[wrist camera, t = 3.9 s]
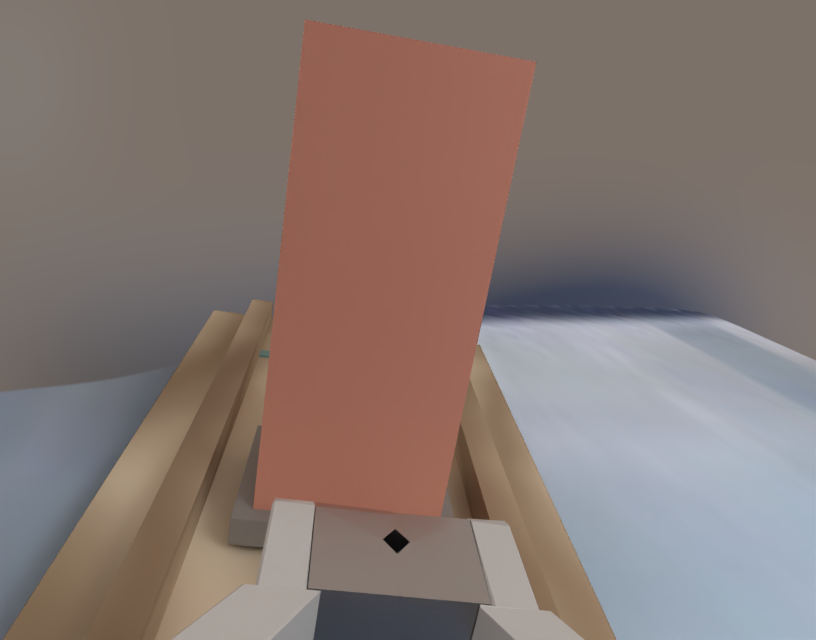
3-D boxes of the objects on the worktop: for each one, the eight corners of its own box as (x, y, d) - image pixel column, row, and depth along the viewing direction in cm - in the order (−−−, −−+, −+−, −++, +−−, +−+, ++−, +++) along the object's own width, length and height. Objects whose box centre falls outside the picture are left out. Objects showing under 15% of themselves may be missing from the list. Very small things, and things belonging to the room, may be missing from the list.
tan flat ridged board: (474, 370, 37) (484, 323, 36) (659, 829, 14) (698, 733, 13) (212, 337, 35) (215, 288, 34) (-55, 797, 12) (-64, 685, 12)
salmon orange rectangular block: (433, 466, 23) (513, 70, 19) (453, 564, 18) (565, 65, 14) (255, 447, 22) (299, 31, 18) (227, 544, 18) (277, 12, 13)
